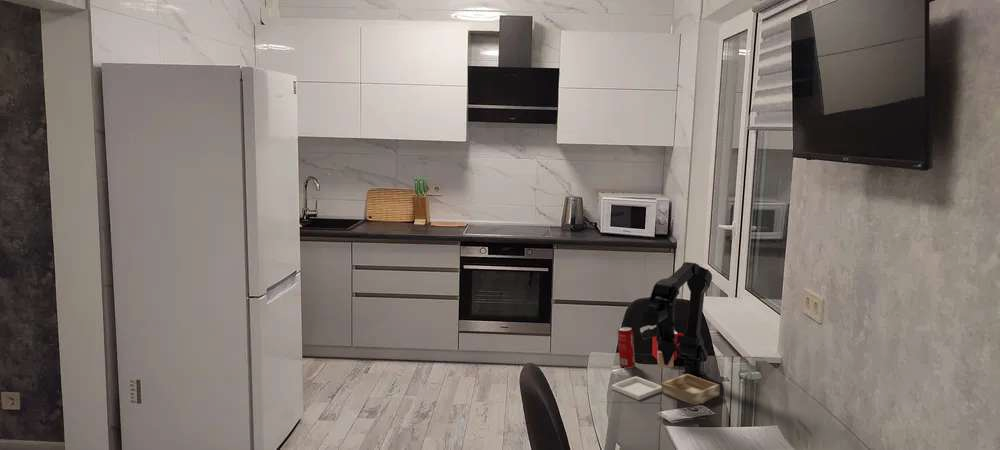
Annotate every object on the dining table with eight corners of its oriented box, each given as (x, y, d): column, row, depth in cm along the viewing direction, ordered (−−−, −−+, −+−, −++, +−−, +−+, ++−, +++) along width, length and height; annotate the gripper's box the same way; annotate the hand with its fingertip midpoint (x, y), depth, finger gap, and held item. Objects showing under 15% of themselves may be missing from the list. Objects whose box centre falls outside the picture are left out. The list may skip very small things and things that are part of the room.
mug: (658, 361, 267) (658, 335, 265) (650, 354, 275) (650, 329, 273) (687, 359, 269) (688, 332, 267) (678, 352, 277) (679, 326, 275)
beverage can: (634, 369, 260) (635, 331, 257) (617, 368, 261) (617, 330, 259) (635, 363, 265) (635, 326, 263) (618, 363, 267) (617, 325, 264)
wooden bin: (686, 384, 244) (686, 373, 243) (719, 396, 233) (719, 384, 233) (661, 394, 236) (661, 383, 235) (693, 406, 225) (694, 395, 225)
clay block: (657, 361, 238) (657, 347, 237) (672, 361, 237) (672, 348, 236) (658, 366, 233) (658, 352, 233) (673, 367, 232) (673, 353, 232)
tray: (635, 381, 248) (635, 376, 248) (663, 391, 238) (663, 386, 238) (611, 390, 241) (611, 385, 240) (638, 401, 231) (638, 396, 230)
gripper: (640, 309, 243) (640, 351, 246) (642, 326, 225) (642, 371, 228) (673, 310, 241) (672, 352, 244) (677, 327, 223) (677, 372, 226)
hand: (665, 362), depth 235 cm, fingers closed on clay block, 5 cm apart
